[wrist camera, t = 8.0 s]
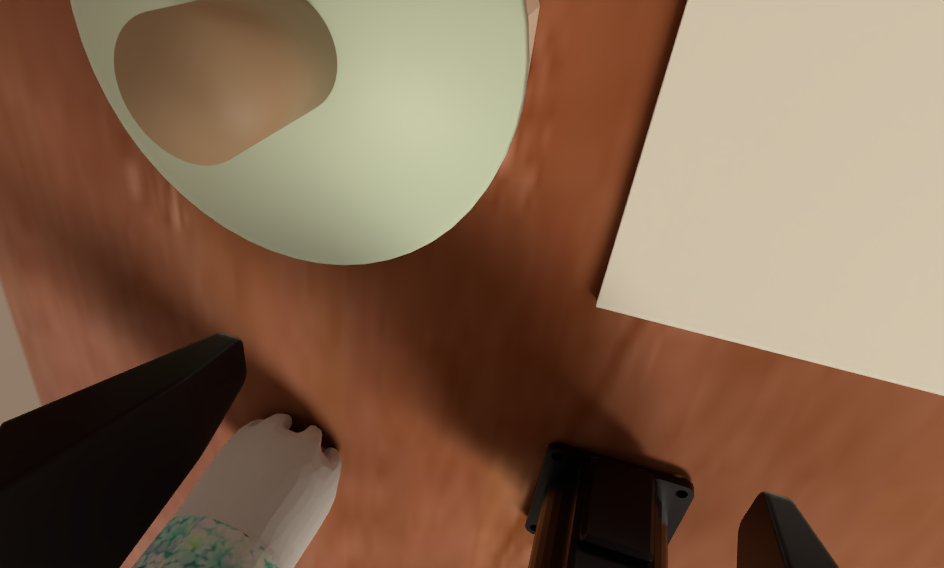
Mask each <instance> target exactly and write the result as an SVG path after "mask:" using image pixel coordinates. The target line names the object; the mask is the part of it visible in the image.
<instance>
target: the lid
mask: <svg viewBox="0 0 944 568" xmlns="http://www.w3.org/2000/svg"><path fill="white" fill-rule="evenodd" d="M70 2H71V7H72V11H73V14H74V18H75V21H76V24H77V28H78V31H79V35H80V38H81V41H82V44H83V46H84V49H85V51H86V54H87V57H88V59H89V62H90V64H91V67H92V69H93V72H94V74H95V76H96V78H97V80H98V82H99V84H100V86H101V88H102V90H103V92H104V94H105V96H106V98H107V100H108V102H109V103H110V105H111V107H112V108H113V110H114V112H115V113H116V115H117V116H118V118H119V120H120V121H121V123H122V125H123V126H124V128H125V129H126V131H127V132H128V133H129V135H130V136H131V138H132V139H133V140H134V142H135V143H136V144H137V146H138V147H139V149H140V150H141V151H142V153H143V154H144V155H145V156H146V157H147V158H148V160H149V161H150V162H151V163H152V164H153V165H154V167H155V168H156V169H157V170H158V171H159V172H160V174H161V175H162V176H163V177H164V178H165V179H166V180H167V181H168V182H169V183H170V184H171V185H172V186H173V187H174V188H175V189H176V190H177V191H178V192H179V193H180V194H182V195H183V196H184V197H185V198H186V199H187V200H189V201H190V202H191V203H192V204H194V205H195V206H196V207H197V208H198V209H200V210H201V211H202V212H203V213H205V214H206V215H207V216H209V217H210V218H212V219H213V220H215V221H216V222H218V223H219V224H221V225H222V226H223V227H225V228H227V229H228V230H230V231H232V232H234V233H235V234H237V235H239V236H241V237H243V238H244V239H246V240H248V241H250V242H252V243H255V244H257V245H259V246H261V247H264V248H266V249H268V250H271V251H273V252H276V253H280V254H283V255H286V256H289V257H292V258H295V259H300V260H305V261H310V262H315V263H322V264H334V265H358V264H369V263H375V262H380V261H386V260H390V259H393V258H396V257H399V256H402V255H405V254H408V253H411V252H413V251H415V250H417V249H419V248H421V247H423V246H425V245H427V244H429V243H431V242H433V241H434V240H436V239H437V238H438V237H440V236H441V235H443V234H444V233H445V232H447V231H448V230H450V229H451V228H452V227H453V226H455V225H456V224H457V223H458V222H459V221H460V220H461V219H462V218H463V217H464V216H465V215H466V214H467V213H468V212H469V211H470V210H471V209H472V207H473V206H474V205H475V204H476V202H477V201H478V200H479V198H480V197H481V196H482V194H483V193H484V192H485V190H486V189H487V188H488V186H489V184H490V183H491V181H492V180H493V178H494V176H495V175H496V173H497V171H498V169H499V167H500V165H501V164H502V162H503V160H504V158H505V156H506V155H507V153H508V150H509V148H510V145H511V143H512V140H513V137H514V135H515V132H516V130H517V127H518V124H519V120H520V116H521V112H522V108H523V103H524V99H525V95H526V88H527V78H528V69H529V59H530V56H529V20H528V12H527V5H526V0H70Z"/></svg>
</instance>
